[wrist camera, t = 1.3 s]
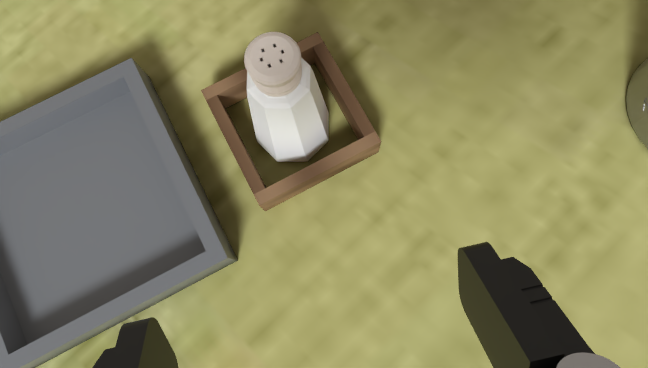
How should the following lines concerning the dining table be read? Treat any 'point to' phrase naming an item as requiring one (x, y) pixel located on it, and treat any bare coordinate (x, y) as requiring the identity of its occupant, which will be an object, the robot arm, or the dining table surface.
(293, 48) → the salt shaker
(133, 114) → the tray
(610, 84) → the dining table surface
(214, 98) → the collar
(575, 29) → the dining table surface
